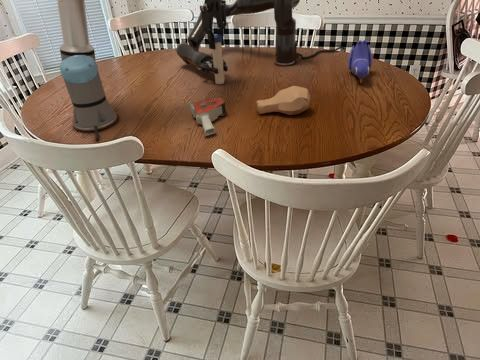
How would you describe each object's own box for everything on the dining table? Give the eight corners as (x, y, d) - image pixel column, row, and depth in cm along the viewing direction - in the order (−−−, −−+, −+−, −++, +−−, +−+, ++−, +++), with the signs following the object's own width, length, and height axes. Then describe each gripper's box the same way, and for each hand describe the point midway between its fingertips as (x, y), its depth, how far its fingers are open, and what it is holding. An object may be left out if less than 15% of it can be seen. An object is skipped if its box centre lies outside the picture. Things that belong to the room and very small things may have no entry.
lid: (210, 39, 152) (210, 34, 150) (222, 38, 151) (222, 34, 150) (209, 42, 147) (208, 38, 146) (222, 42, 147) (221, 37, 146)
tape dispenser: (210, 142, 120) (241, 115, 132) (208, 128, 116) (241, 102, 129) (170, 128, 127) (203, 104, 139) (167, 115, 124) (202, 91, 136)
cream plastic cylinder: (219, 84, 158) (215, 39, 146) (213, 82, 160) (209, 38, 149) (226, 82, 160) (223, 37, 148) (220, 80, 162) (216, 36, 151)
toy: (346, 77, 167) (349, 86, 145) (348, 39, 161) (352, 42, 138) (368, 76, 165) (375, 85, 143) (371, 38, 158) (379, 41, 136)
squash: (314, 116, 128) (313, 95, 122) (259, 125, 130) (256, 105, 124) (308, 99, 136) (307, 78, 129) (257, 108, 138) (253, 88, 131)
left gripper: (203, -11, 130) (209, 54, 143) (233, -18, 141) (236, 42, 155) (188, -12, 133) (195, 51, 147) (218, -19, 145) (223, 40, 158)
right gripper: (216, 65, 171) (236, 74, 160) (190, 72, 165) (208, 82, 154) (214, 49, 167) (235, 58, 155) (188, 56, 161) (207, 65, 149)
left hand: (216, 46), depth 151 cm, fingers closed on lid, 5 cm apart
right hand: (221, 70), depth 155 cm, fingers closed on cream plastic cylinder, 4 cm apart
